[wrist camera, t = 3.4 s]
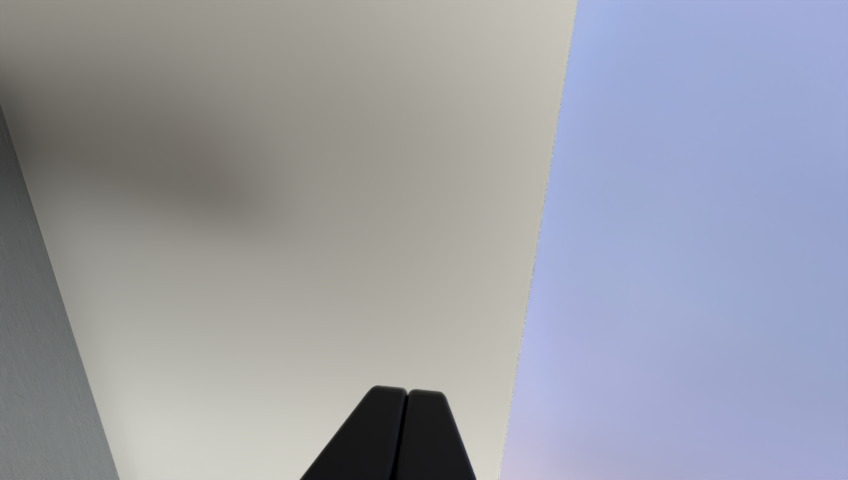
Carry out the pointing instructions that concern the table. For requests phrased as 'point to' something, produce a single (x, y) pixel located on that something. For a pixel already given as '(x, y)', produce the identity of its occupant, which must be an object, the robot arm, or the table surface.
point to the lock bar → (39, 354)
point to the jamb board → (286, 211)
